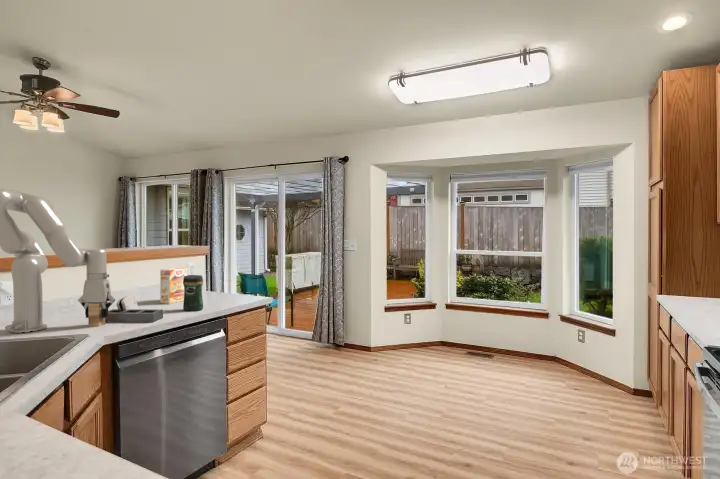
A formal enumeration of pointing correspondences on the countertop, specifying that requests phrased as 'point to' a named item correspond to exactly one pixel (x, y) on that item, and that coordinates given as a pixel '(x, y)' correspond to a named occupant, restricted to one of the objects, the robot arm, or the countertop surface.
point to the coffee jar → (193, 293)
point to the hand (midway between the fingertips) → (96, 316)
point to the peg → (95, 314)
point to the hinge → (127, 303)
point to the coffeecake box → (172, 285)
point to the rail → (134, 315)
